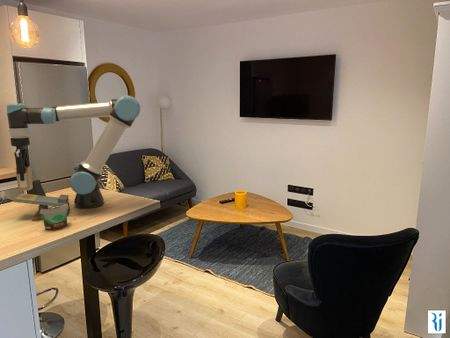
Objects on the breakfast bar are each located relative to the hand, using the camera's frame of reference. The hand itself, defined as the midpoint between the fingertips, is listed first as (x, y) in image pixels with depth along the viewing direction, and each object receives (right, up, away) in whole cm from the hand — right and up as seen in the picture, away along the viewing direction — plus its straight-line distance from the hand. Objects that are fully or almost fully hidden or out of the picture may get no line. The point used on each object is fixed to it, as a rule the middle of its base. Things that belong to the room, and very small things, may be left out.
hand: (25, 185), depth 160 cm
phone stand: (-10, -11, +29) cm, 32 cm away
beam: (+6, -7, +3) cm, 10 cm away
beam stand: (+10, -15, +6) cm, 19 cm away
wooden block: (0, -2, 0) cm, 2 cm away
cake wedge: (+21, -19, -11) cm, 30 cm away
